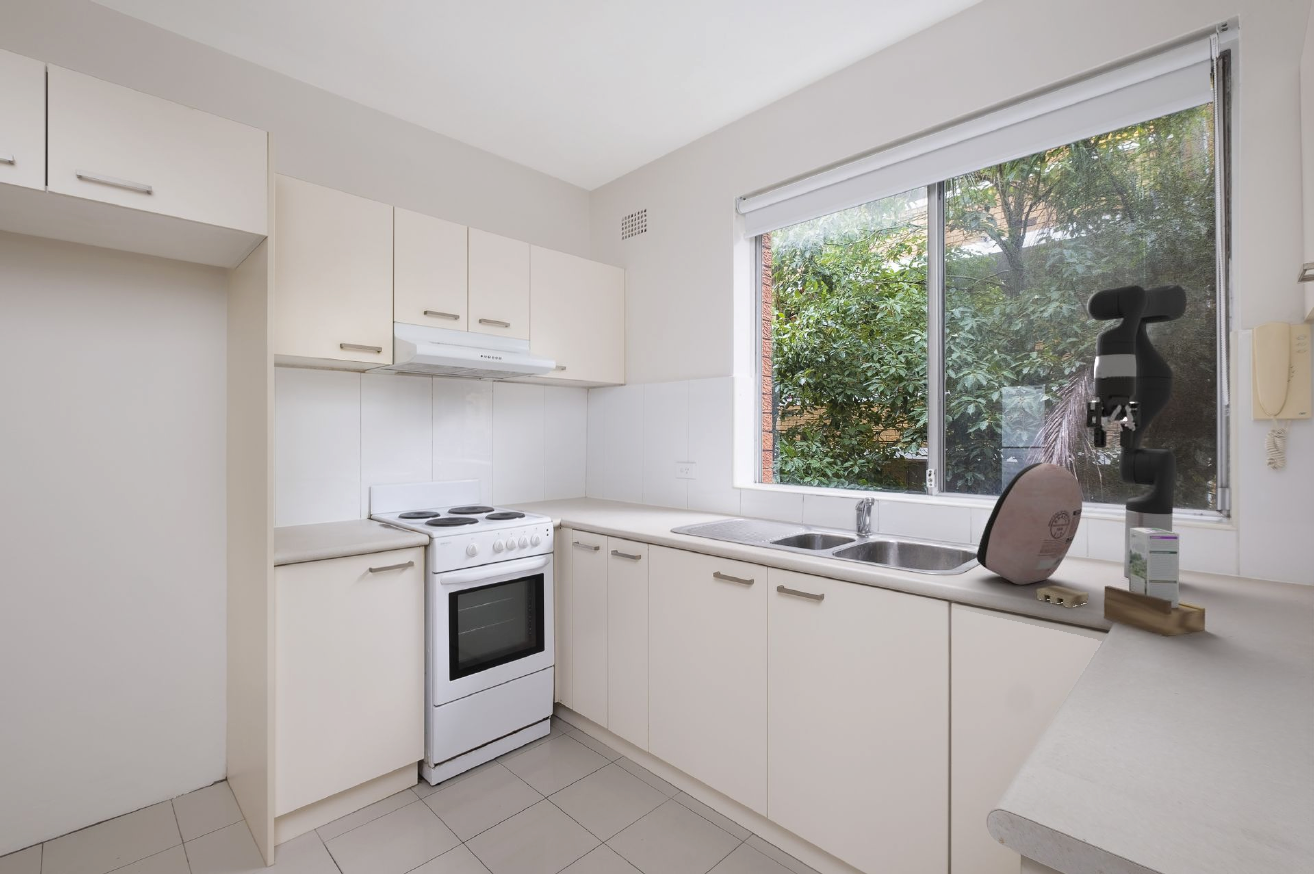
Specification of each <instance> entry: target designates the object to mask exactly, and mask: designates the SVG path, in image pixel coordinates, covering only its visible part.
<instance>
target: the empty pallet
mask: <svg viewBox="0 0 1314 874" xmlns="http://www.w3.org/2000/svg"><path fill="white" fill-rule="evenodd" d="M1036 594H1037V598H1036V599H1041V600H1043V601H1042V602H1046V601H1045V600H1047V599H1050V600H1049V603H1050V602H1052V603H1056V604H1057V603H1061V602H1063V603H1062V606H1063V605H1064V606H1067V607H1066V608H1068V607H1069V608H1068V609H1072V608H1074V607H1073V606H1075V605H1080V606H1082V605H1081V604H1083V603H1087V604H1088V597H1089V593H1088V592H1085V591H1079V590H1075V589H1071V588H1066V587H1062V586H1058V585H1050V586H1046V587H1042V588H1037V589H1036ZM1052 603H1051V604H1052ZM1056 604H1055V605H1056ZM1064 606H1063V607H1064ZM1071 607H1072V608H1071Z"/></svg>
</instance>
